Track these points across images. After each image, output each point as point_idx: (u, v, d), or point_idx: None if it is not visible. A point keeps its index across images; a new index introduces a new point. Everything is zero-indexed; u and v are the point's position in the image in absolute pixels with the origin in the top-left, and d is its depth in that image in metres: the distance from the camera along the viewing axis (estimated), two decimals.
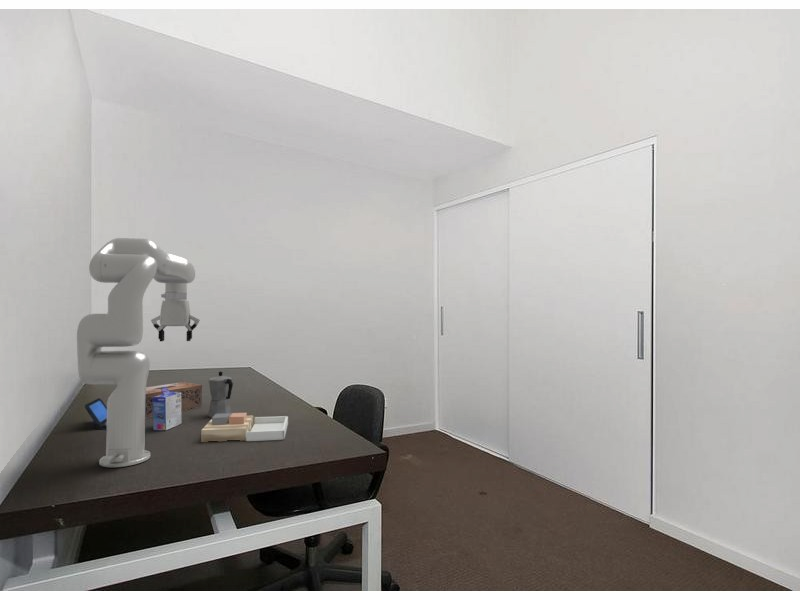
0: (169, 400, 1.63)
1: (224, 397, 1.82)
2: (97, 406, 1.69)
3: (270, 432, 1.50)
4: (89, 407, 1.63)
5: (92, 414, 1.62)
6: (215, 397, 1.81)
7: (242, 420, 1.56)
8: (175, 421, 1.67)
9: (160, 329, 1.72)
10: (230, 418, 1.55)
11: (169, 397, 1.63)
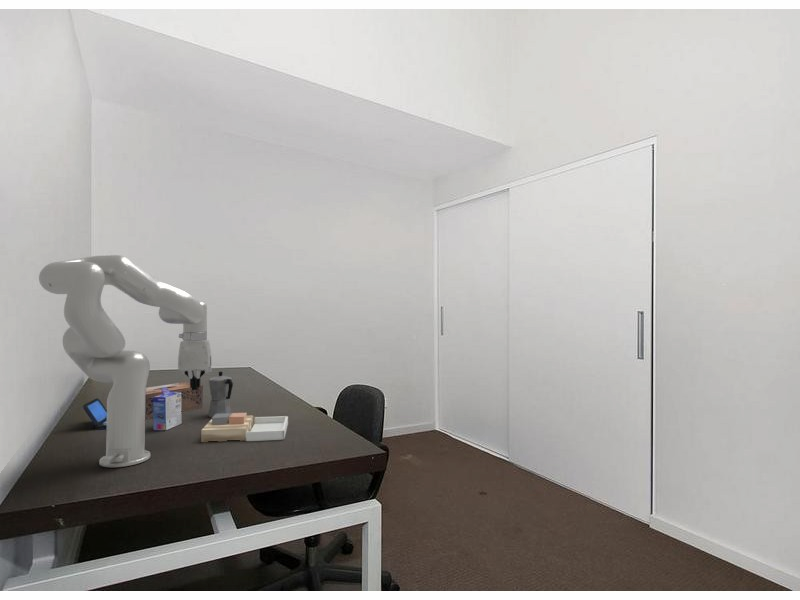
0: (169, 400, 1.63)
1: (224, 397, 1.82)
2: (95, 406, 1.69)
3: (270, 432, 1.50)
4: (87, 407, 1.63)
5: (90, 414, 1.62)
6: (215, 397, 1.81)
7: (242, 420, 1.56)
8: (175, 421, 1.67)
9: (191, 376, 1.55)
10: (230, 418, 1.55)
11: (169, 397, 1.63)
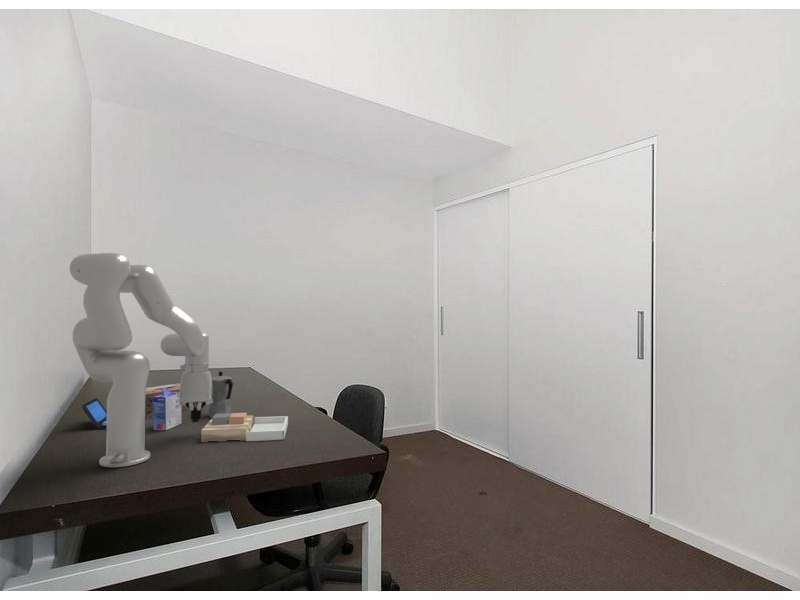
0: (169, 400, 1.63)
1: (224, 397, 1.82)
2: (94, 406, 1.69)
3: (270, 432, 1.50)
4: (86, 407, 1.63)
5: (89, 414, 1.62)
6: (215, 397, 1.81)
7: (242, 420, 1.56)
8: (175, 421, 1.67)
9: (192, 407, 1.54)
10: (230, 418, 1.55)
11: (169, 397, 1.63)
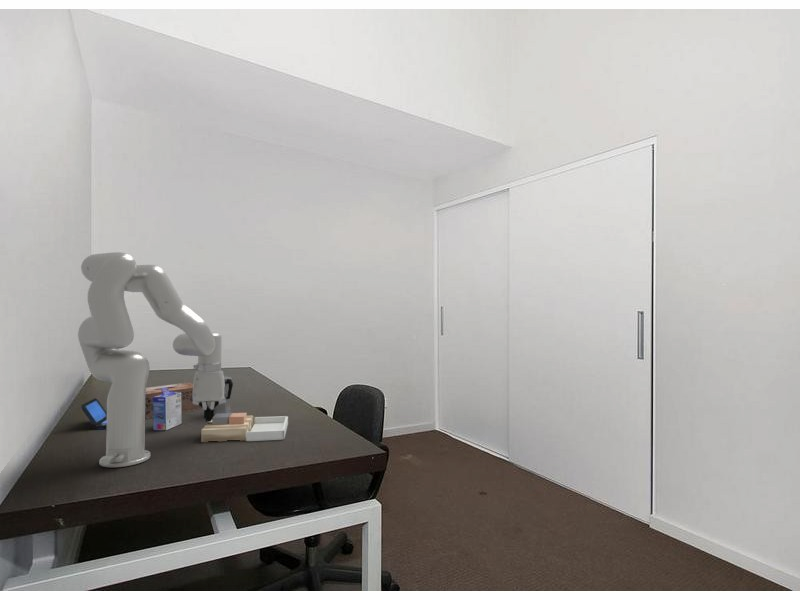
0: (169, 400, 1.63)
1: None
2: (93, 406, 1.69)
3: (270, 432, 1.50)
4: (85, 407, 1.63)
5: (88, 414, 1.62)
6: None
7: (242, 420, 1.56)
8: (175, 421, 1.67)
9: (205, 407, 1.55)
10: (230, 418, 1.55)
11: (169, 397, 1.63)
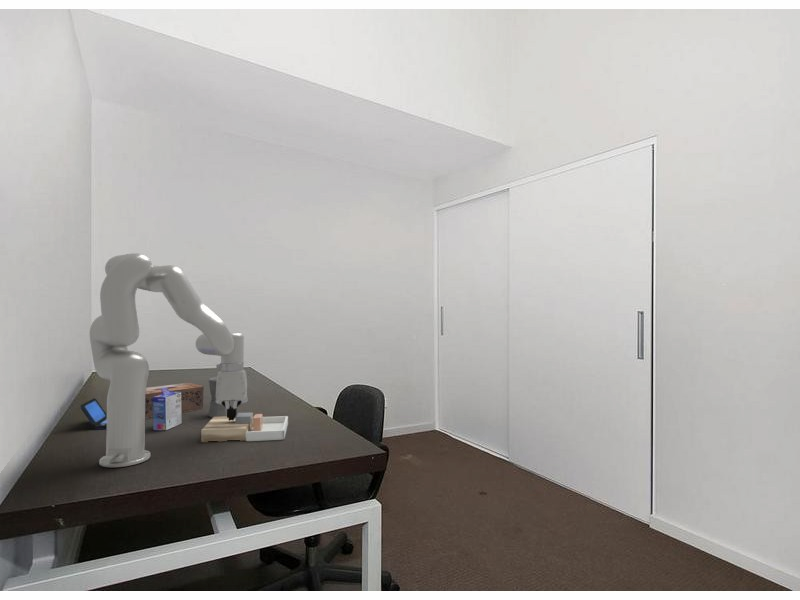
0: (169, 400, 1.63)
1: None
2: (92, 406, 1.69)
3: (270, 432, 1.50)
4: (85, 407, 1.62)
5: (88, 414, 1.62)
6: (215, 397, 1.81)
7: (256, 430, 1.56)
8: (175, 421, 1.67)
9: (228, 406, 1.56)
10: (258, 419, 1.57)
11: (169, 397, 1.63)
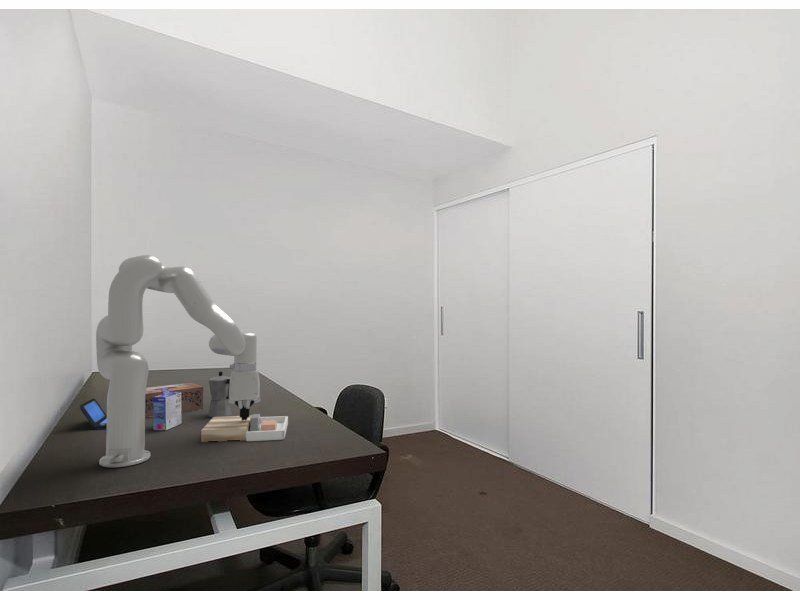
0: (169, 400, 1.63)
1: (224, 397, 1.82)
2: (92, 406, 1.68)
3: (270, 432, 1.50)
4: (84, 407, 1.62)
5: (87, 414, 1.61)
6: (215, 397, 1.81)
7: (262, 428, 1.57)
8: (175, 421, 1.67)
9: (241, 406, 1.57)
10: None
11: (169, 397, 1.63)
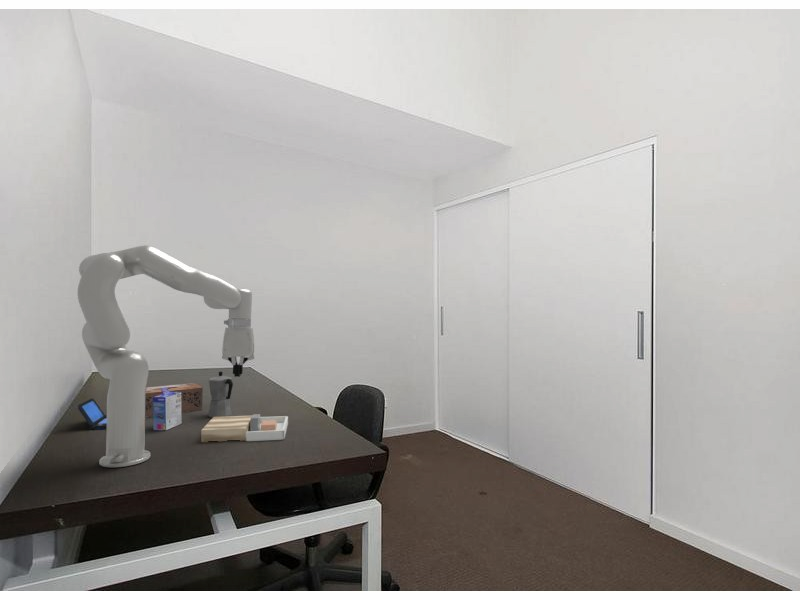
0: (169, 400, 1.63)
1: (224, 397, 1.82)
2: (90, 406, 1.68)
3: (270, 432, 1.50)
4: (82, 407, 1.62)
5: (85, 414, 1.61)
6: (215, 397, 1.81)
7: (262, 428, 1.57)
8: (175, 421, 1.67)
9: (234, 362, 1.56)
10: None
11: (169, 397, 1.63)
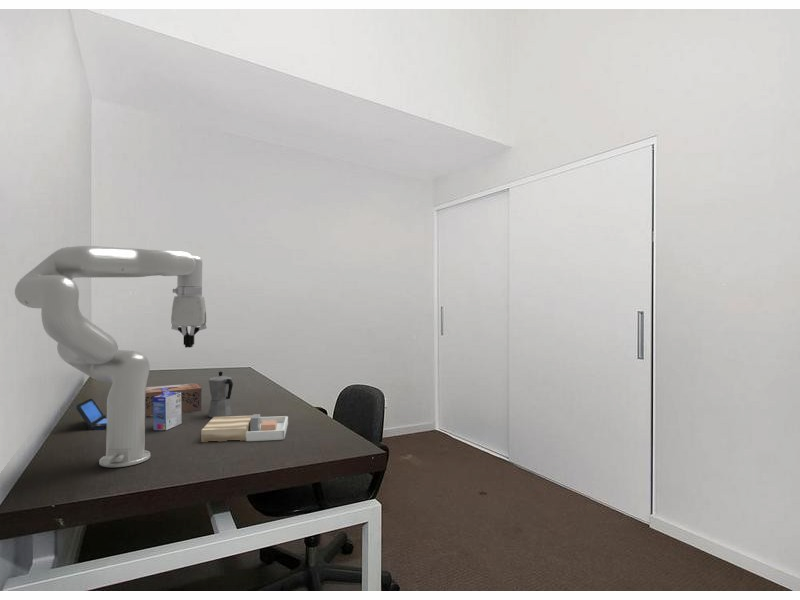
0: (169, 400, 1.63)
1: (224, 397, 1.82)
2: (89, 406, 1.68)
3: (270, 432, 1.50)
4: (80, 407, 1.62)
5: (83, 414, 1.61)
6: (215, 397, 1.81)
7: (262, 428, 1.57)
8: (175, 421, 1.67)
9: (185, 332, 1.48)
10: None
11: (169, 397, 1.63)
